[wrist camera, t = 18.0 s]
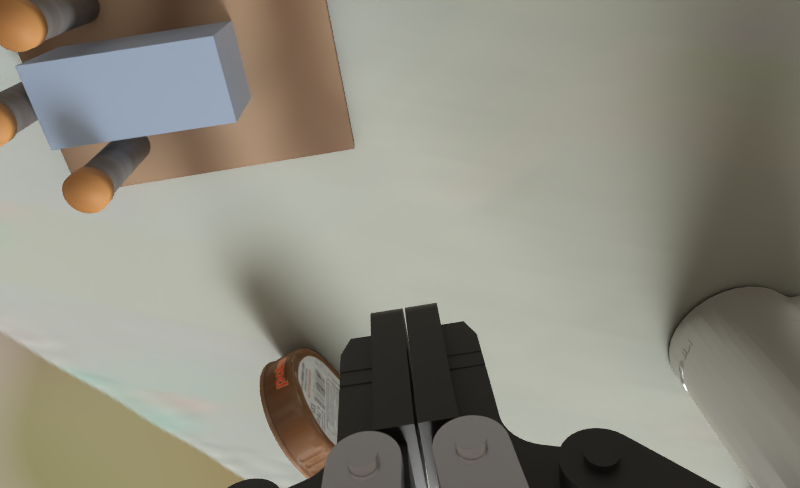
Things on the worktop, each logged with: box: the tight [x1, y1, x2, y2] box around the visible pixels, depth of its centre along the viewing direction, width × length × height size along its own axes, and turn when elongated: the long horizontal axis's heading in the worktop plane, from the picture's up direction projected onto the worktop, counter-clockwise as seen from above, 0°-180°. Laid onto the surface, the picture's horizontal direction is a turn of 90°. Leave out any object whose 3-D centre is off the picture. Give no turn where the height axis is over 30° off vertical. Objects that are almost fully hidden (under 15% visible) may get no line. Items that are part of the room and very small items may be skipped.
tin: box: [260, 348, 340, 479], centre depth 41 cm, size 15×3×8 cm, turn 31°
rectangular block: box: [15, 21, 251, 150], centre depth 30 cm, size 4×9×4 cm, turn 98°
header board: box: [0, 0, 354, 213], centre depth 29 cm, size 16×12×8 cm
